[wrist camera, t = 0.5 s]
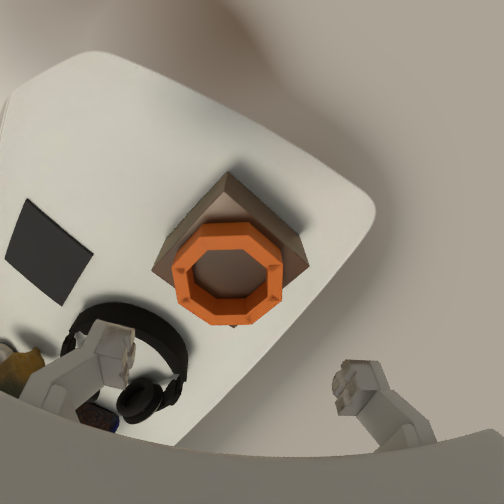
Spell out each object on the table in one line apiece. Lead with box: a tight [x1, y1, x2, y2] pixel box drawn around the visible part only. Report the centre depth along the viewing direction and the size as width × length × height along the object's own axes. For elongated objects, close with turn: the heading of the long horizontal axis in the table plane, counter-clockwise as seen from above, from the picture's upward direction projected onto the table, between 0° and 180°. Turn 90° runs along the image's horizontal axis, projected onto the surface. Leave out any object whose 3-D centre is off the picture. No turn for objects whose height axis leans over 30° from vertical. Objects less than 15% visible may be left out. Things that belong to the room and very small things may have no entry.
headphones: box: [60, 303, 188, 424], centre depth 38 cm, size 18×8×20 cm
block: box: [151, 172, 309, 328], centre depth 30 cm, size 10×10×6 cm
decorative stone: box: [0, 347, 45, 399], centre depth 35 cm, size 10×6×15 cm, turn 69°
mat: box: [5, 199, 93, 307], centre depth 33 cm, size 11×11×1 cm
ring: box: [171, 222, 283, 325], centre depth 26 cm, size 9×9×2 cm
